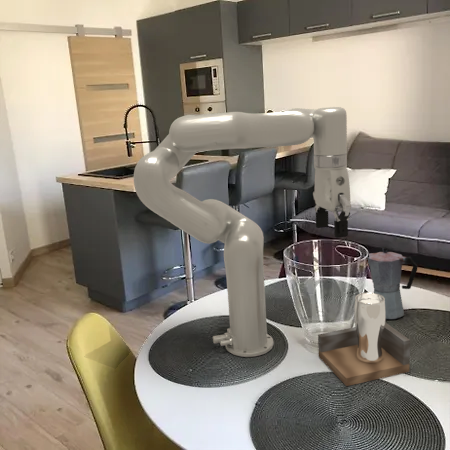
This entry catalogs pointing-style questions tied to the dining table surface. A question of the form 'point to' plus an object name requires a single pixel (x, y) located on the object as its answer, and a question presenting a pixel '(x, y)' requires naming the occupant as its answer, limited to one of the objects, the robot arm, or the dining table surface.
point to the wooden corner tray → (357, 370)
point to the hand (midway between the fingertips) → (331, 231)
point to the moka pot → (390, 279)
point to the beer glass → (369, 326)
